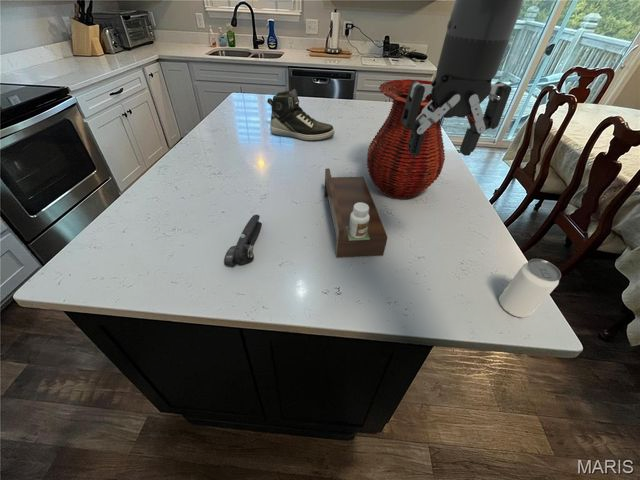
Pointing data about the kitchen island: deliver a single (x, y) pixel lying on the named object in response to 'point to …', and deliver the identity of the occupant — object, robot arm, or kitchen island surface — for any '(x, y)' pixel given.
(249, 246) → the can opener
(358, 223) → the pill bottle
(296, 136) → the athletic shoe
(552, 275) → the can
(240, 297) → the kitchen island surface
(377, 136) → the vase
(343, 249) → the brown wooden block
